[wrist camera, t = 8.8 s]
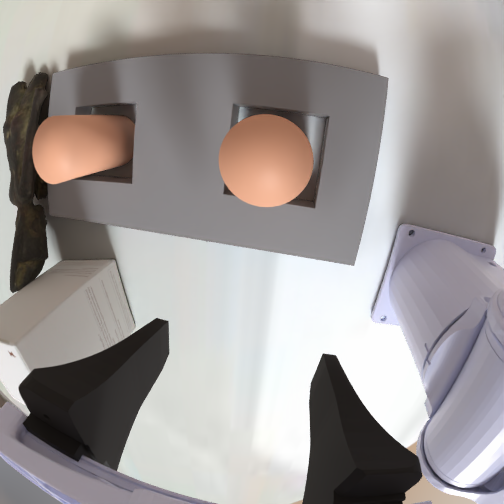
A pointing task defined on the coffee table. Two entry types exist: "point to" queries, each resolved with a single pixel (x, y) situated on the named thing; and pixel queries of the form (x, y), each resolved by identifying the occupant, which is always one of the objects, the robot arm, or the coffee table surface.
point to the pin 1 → (81, 145)
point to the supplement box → (62, 319)
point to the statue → (26, 181)
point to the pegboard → (209, 142)
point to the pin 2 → (266, 160)
